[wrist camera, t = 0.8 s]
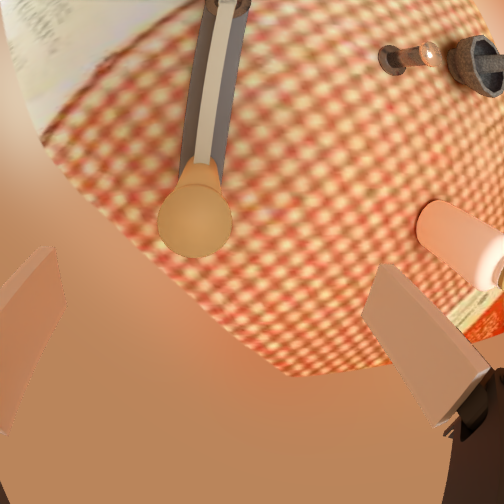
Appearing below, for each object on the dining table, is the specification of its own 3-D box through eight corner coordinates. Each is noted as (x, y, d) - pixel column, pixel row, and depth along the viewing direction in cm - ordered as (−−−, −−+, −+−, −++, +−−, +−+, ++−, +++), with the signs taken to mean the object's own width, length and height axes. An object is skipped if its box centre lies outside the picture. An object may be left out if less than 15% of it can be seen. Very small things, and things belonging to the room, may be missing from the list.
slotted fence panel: (206, 13, 24) (208, -74, 8) (243, 17, 24) (280, -64, 9) (181, 185, 32) (156, 255, 16) (217, 188, 33) (227, 260, 17)
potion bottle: (418, 197, 38) (506, 248, 22) (452, 198, 39) (533, 244, 23) (408, 247, 42) (483, 311, 26) (442, 244, 43) (513, 299, 27)
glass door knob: (379, 41, 27) (419, 29, 20) (405, 53, 28) (446, 46, 21) (376, 68, 29) (417, 62, 22) (402, 80, 30) (444, 78, 22)
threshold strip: (207, -7, 23) (208, -8, 22) (250, -2, 24) (251, -3, 23) (178, 183, 33) (178, 183, 32) (220, 186, 34) (220, 187, 33)
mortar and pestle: (452, 100, 32) (511, 107, 21) (430, 44, 28) (489, 37, 17) (485, 84, 30) (537, 90, 20) (467, 34, 26) (519, 31, 16)
